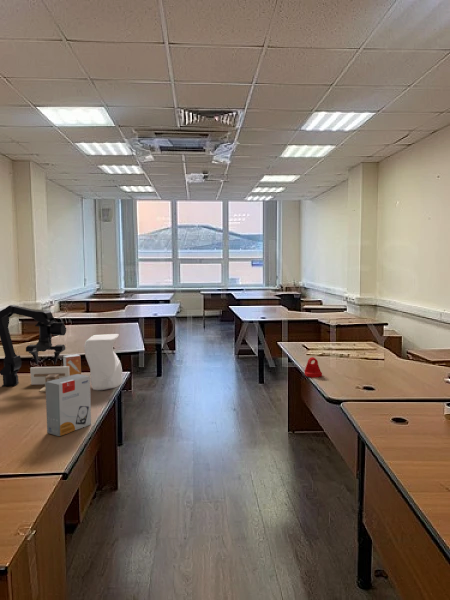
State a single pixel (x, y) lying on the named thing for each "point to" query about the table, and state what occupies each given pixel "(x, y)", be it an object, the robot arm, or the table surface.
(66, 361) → the small box
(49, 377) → the cabinet block
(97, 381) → the white curved block
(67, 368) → the white slotted box
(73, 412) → the hard drive box
